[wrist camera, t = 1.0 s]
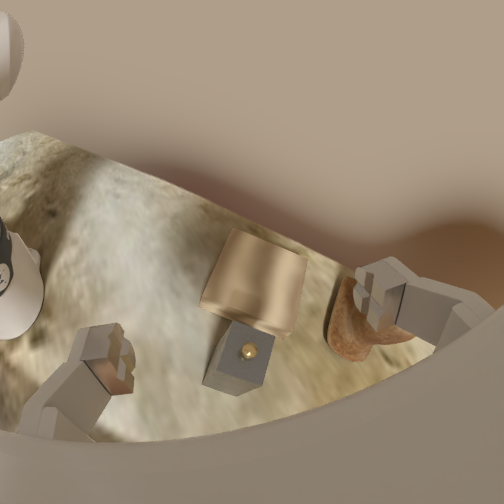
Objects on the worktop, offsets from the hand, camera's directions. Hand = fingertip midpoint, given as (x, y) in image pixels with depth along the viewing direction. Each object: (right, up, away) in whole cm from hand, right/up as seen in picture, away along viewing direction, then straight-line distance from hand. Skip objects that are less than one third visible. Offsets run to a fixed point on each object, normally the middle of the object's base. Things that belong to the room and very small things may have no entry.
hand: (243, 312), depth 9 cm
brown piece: (+19, -12, +39) cm, 44 cm away
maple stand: (0, -4, +37) cm, 37 cm away
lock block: (-3, -15, +28) cm, 31 cm away
